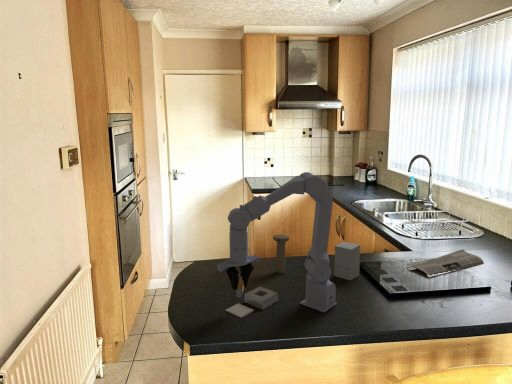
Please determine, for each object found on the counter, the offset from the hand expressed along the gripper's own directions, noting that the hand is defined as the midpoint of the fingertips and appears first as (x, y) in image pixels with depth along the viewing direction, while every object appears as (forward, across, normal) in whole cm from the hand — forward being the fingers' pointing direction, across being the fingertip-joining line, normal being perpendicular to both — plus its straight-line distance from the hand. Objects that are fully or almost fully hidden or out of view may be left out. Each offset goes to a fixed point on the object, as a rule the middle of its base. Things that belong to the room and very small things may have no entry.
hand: (239, 287), depth 125 cm
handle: (+8, -31, -19) cm, 37 cm away
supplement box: (+8, -50, -1) cm, 51 cm away
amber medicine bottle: (+3, 0, 0) cm, 3 cm away
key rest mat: (+8, 0, 0) cm, 8 cm away
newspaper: (+9, -92, +14) cm, 94 cm away
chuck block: (+8, -10, -2) cm, 13 cm away
